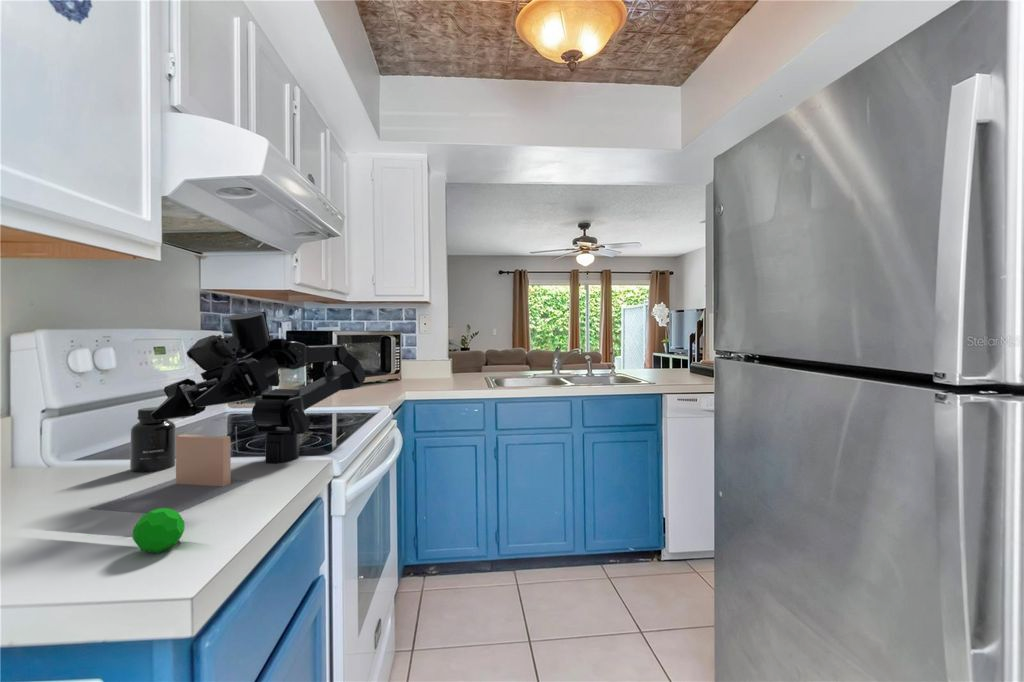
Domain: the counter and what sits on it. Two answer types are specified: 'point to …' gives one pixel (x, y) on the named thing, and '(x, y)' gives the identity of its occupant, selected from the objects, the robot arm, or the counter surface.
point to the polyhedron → (158, 530)
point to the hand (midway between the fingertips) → (173, 410)
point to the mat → (168, 497)
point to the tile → (203, 460)
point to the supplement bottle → (152, 443)
